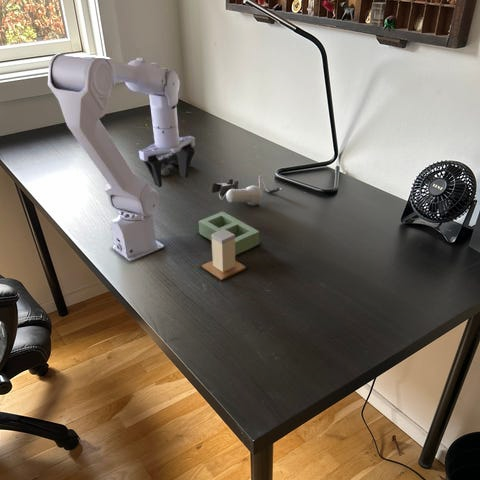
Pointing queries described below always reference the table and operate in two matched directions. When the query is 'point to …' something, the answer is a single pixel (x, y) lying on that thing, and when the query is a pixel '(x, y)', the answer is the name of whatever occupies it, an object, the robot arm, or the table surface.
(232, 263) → the cream rectangular block
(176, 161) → the gaming controller
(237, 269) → the cork pad
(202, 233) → the holder
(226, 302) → the table surface
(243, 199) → the clip-on lamp
